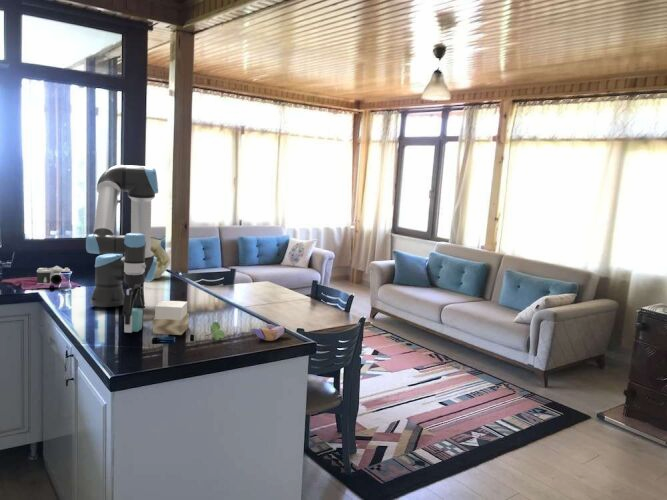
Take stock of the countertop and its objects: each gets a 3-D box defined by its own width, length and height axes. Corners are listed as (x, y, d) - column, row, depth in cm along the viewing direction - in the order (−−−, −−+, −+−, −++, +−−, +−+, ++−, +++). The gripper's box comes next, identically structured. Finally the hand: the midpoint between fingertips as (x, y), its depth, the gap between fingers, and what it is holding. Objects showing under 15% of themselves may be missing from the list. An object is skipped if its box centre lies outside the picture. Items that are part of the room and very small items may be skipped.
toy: (247, 323, 209) (279, 321, 219) (246, 339, 209) (279, 336, 219) (258, 327, 202) (292, 324, 211) (258, 343, 202) (292, 340, 211)
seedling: (212, 348, 209) (225, 342, 206) (197, 341, 203) (209, 334, 201) (213, 333, 213) (225, 326, 211) (198, 324, 208) (211, 318, 206)
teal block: (124, 330, 209) (125, 310, 208) (129, 327, 214) (129, 307, 213) (137, 331, 209) (138, 311, 208) (142, 328, 214) (142, 308, 213)
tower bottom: (152, 333, 208) (153, 318, 208) (161, 326, 219) (161, 311, 219) (181, 335, 209) (181, 320, 208) (188, 327, 220) (189, 313, 219)
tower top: (154, 318, 208) (155, 306, 207) (161, 312, 218) (162, 300, 217) (181, 320, 208) (181, 307, 208) (186, 313, 218) (187, 301, 218)
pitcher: (162, 281, 307) (163, 238, 304) (121, 279, 307) (121, 235, 304) (174, 275, 330) (175, 234, 326) (135, 272, 330) (136, 231, 327)
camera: (35, 286, 276) (35, 267, 275) (36, 283, 284) (36, 264, 282) (70, 285, 283) (70, 266, 282) (70, 282, 291) (70, 264, 289)
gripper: (133, 279, 197) (132, 337, 200) (153, 268, 220) (152, 321, 223) (112, 277, 197) (112, 336, 200) (135, 267, 220) (134, 320, 223)
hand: (133, 328), depth 212 cm, fingers open, 11 cm apart
